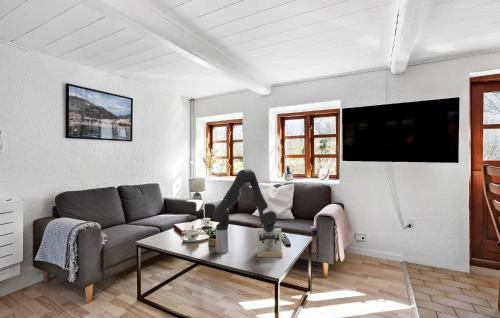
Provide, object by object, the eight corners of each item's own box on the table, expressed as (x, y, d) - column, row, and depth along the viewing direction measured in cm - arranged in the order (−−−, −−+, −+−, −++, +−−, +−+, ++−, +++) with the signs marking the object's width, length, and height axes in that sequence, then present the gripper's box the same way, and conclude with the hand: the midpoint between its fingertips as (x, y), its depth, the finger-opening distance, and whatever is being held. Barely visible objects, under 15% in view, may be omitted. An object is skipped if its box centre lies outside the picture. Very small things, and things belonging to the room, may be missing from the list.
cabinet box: (266, 255, 182) (265, 240, 182) (266, 254, 185) (265, 239, 185) (273, 255, 181) (272, 240, 181) (272, 254, 184) (272, 239, 184)
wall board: (256, 256, 180) (256, 231, 180) (257, 252, 188) (257, 228, 188) (282, 257, 178) (281, 231, 178) (281, 252, 186) (281, 228, 186)
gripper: (279, 226, 172) (279, 237, 183) (258, 226, 173) (259, 237, 184) (279, 236, 166) (279, 247, 178) (258, 236, 168) (259, 247, 179)
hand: (269, 242), depth 181 cm, fingers open, 8 cm apart
